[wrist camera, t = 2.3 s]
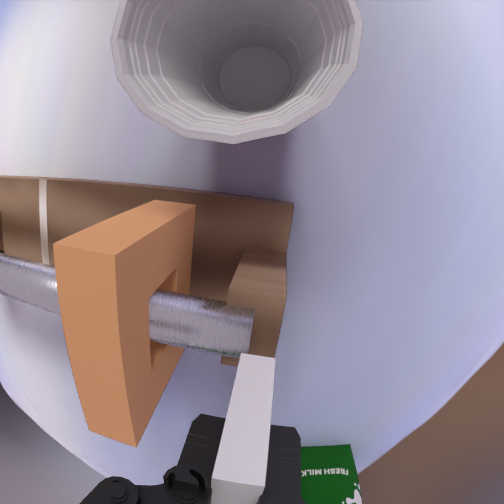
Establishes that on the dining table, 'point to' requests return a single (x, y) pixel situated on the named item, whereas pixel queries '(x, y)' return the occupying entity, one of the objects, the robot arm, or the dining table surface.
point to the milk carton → (329, 475)
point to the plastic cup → (234, 62)
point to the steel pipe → (160, 310)
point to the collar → (122, 311)
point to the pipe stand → (204, 238)
